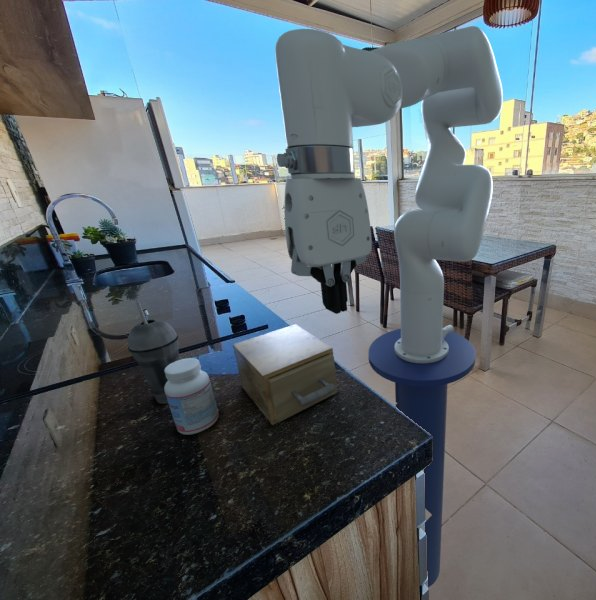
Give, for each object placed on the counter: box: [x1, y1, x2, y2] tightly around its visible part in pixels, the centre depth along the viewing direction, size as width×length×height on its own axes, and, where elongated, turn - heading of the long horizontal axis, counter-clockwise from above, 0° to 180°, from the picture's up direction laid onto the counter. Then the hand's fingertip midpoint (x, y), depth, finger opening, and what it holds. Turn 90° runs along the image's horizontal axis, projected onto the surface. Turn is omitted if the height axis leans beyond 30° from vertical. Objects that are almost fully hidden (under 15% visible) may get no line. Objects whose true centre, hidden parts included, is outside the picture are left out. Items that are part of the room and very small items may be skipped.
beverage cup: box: [127, 298, 181, 405], centre depth 57 cm, size 7×7×20 cm
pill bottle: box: [164, 357, 220, 436], centre depth 52 cm, size 6×6×11 cm
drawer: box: [268, 354, 338, 424], centre depth 57 cm, size 18×11×8 cm, turn 43°
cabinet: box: [232, 323, 334, 426], centre depth 60 cm, size 15×13×10 cm
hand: (336, 309), depth 44 cm, fingers closed
